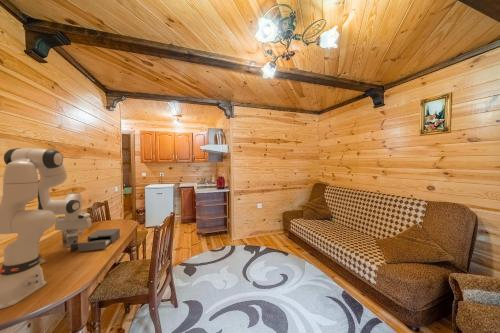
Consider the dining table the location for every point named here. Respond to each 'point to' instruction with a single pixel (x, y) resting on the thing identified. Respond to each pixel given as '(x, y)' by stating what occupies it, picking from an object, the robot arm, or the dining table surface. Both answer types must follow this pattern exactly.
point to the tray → (93, 245)
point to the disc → (73, 234)
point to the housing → (105, 235)
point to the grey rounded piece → (73, 247)
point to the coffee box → (69, 238)
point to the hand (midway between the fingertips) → (73, 235)
